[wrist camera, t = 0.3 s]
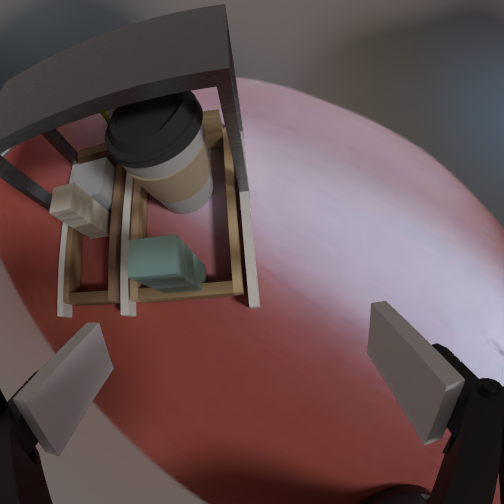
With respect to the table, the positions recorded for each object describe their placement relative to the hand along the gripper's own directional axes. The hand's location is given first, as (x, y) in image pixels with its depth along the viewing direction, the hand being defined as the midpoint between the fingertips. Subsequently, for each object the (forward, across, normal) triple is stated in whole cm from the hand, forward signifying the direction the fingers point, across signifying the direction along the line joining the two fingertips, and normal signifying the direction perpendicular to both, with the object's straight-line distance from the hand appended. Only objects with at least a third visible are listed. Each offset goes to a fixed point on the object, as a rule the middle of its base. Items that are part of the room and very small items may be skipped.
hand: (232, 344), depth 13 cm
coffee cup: (+25, +6, -7) cm, 27 cm away
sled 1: (+23, +18, -4) cm, 29 cm away
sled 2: (+23, +6, -4) cm, 24 cm away
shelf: (+26, +11, -9) cm, 30 cm away
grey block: (+25, +18, -8) cm, 32 cm away
